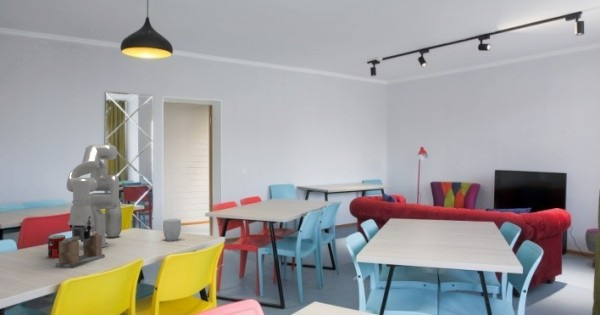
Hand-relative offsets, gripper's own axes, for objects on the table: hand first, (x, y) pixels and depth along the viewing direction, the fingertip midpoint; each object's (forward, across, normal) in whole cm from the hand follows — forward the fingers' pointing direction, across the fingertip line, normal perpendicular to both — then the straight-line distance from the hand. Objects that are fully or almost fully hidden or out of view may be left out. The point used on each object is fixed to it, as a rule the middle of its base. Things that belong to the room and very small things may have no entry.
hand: (81, 237), depth 213 cm
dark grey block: (+1, 0, 0) cm, 1 cm away
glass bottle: (+12, -26, +57) cm, 64 cm away
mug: (+12, +15, +61) cm, 64 cm away
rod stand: (+12, 0, 0) cm, 12 cm away
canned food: (+12, -20, +5) cm, 24 cm away
